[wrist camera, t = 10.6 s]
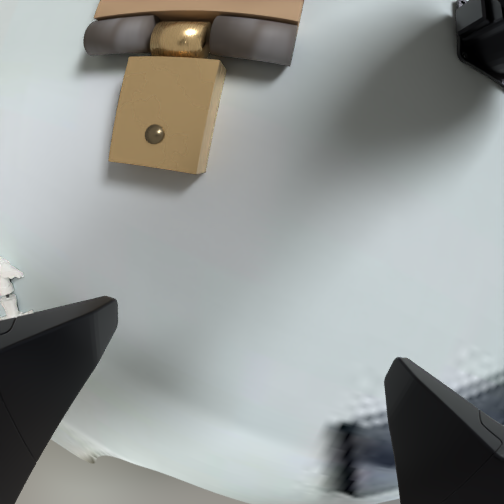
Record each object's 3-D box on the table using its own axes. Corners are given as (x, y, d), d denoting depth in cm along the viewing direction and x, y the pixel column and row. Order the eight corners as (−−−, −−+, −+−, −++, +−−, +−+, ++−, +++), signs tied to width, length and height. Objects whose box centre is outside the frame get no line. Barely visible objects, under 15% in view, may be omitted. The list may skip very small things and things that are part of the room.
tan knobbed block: (205, 172, 19) (194, 174, 17) (125, 159, 19) (105, 161, 17) (236, 33, 16) (229, 16, 13) (154, 30, 16) (138, 16, 14)
